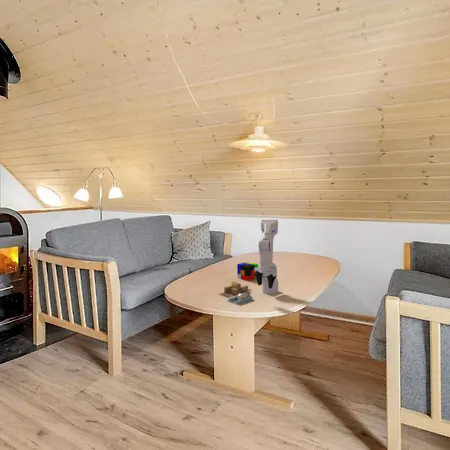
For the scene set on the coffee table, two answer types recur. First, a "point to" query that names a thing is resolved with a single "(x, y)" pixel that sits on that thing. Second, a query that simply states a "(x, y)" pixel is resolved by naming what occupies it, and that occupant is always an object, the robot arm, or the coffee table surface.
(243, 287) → the socket block
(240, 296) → the shiny metal cylinder
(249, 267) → the puzzle toy
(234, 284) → the tan blocky piece
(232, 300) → the rack
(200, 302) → the coffee table surface
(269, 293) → the robot arm
